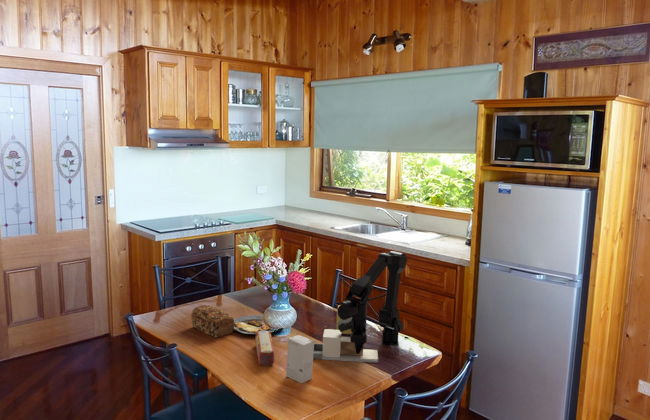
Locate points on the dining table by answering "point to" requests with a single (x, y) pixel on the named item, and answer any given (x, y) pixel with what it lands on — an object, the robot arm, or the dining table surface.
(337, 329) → the cheese
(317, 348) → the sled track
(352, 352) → the walnut block
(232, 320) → the bread
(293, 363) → the skincare box
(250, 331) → the food plate
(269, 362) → the snack package
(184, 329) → the dining table surface
